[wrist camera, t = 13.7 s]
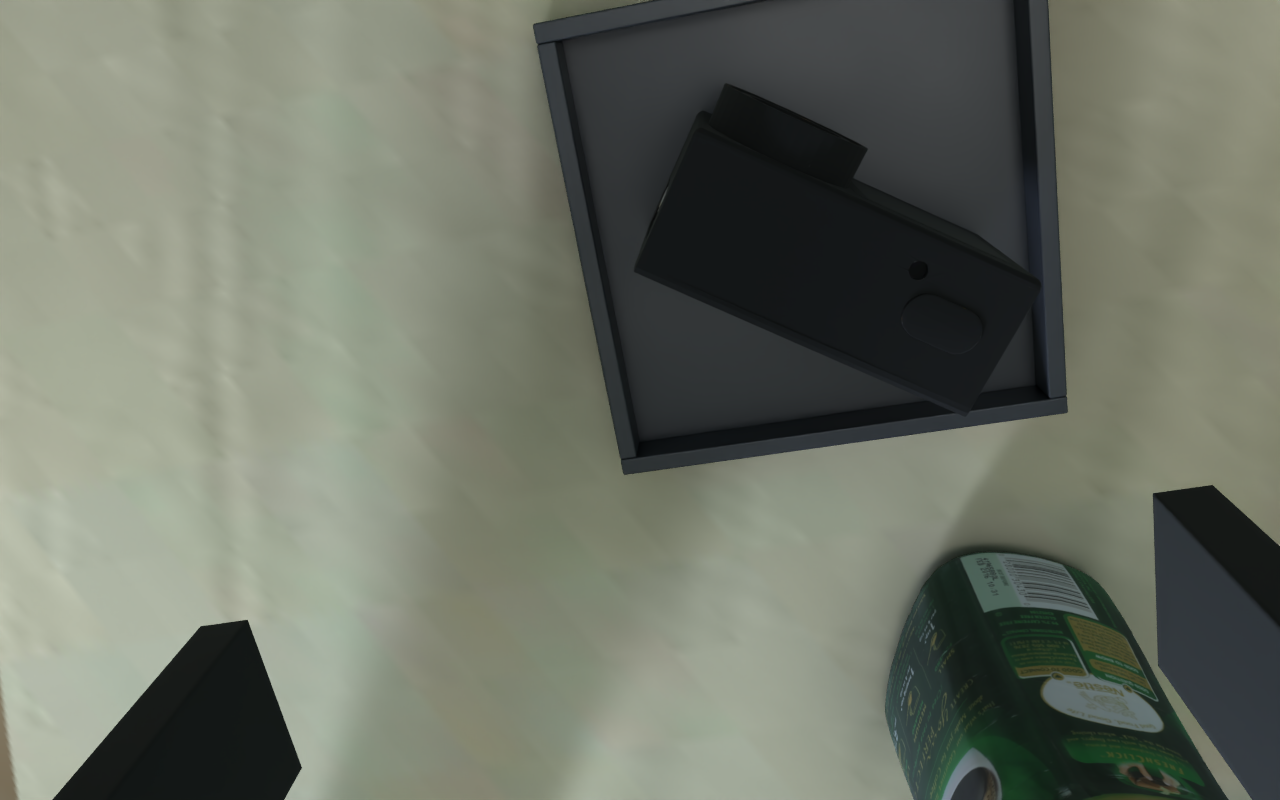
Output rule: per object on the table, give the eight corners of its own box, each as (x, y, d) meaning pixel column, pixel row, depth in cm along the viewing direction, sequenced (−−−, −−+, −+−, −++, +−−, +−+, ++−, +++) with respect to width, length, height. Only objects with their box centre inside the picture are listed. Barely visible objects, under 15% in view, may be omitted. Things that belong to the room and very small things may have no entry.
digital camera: (1003, 204, 33) (1074, 245, 27) (922, 349, 35) (970, 420, 29) (714, 72, 33) (714, 82, 26) (647, 227, 35) (631, 272, 28)
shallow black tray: (542, 24, 33) (532, 24, 31) (1024, -70, 31) (1045, -78, 29) (628, 452, 38) (623, 475, 36) (1048, 392, 36) (1068, 413, 34)
